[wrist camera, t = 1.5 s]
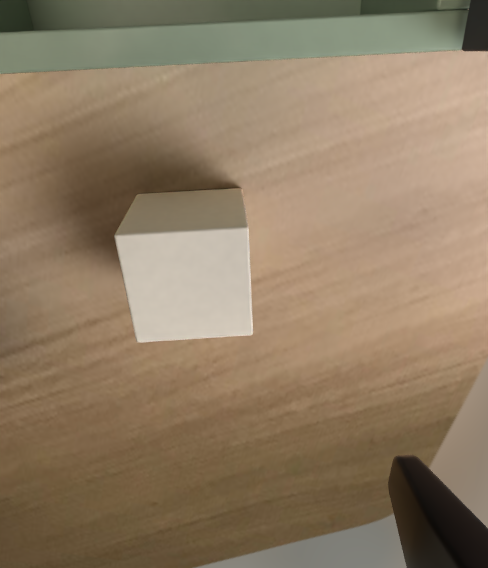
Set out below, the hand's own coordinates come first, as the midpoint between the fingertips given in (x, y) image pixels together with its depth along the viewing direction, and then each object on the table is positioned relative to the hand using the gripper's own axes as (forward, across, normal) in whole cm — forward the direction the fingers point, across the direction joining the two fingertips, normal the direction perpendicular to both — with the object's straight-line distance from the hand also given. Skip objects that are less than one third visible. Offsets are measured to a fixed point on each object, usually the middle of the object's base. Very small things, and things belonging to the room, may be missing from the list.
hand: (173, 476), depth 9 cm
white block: (+12, 0, 0) cm, 12 cm away
